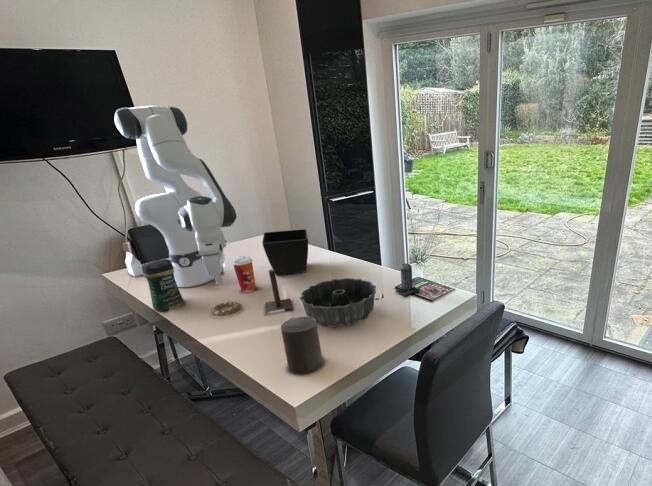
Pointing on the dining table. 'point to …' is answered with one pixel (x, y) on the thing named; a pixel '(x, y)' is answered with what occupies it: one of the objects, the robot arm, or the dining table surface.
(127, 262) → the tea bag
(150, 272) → the coffee jar
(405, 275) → the grey tower model
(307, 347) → the pillar candle
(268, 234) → the flower pot
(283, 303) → the post
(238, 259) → the paper cup
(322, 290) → the bundt pan
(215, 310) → the ring
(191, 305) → the dining table surface
